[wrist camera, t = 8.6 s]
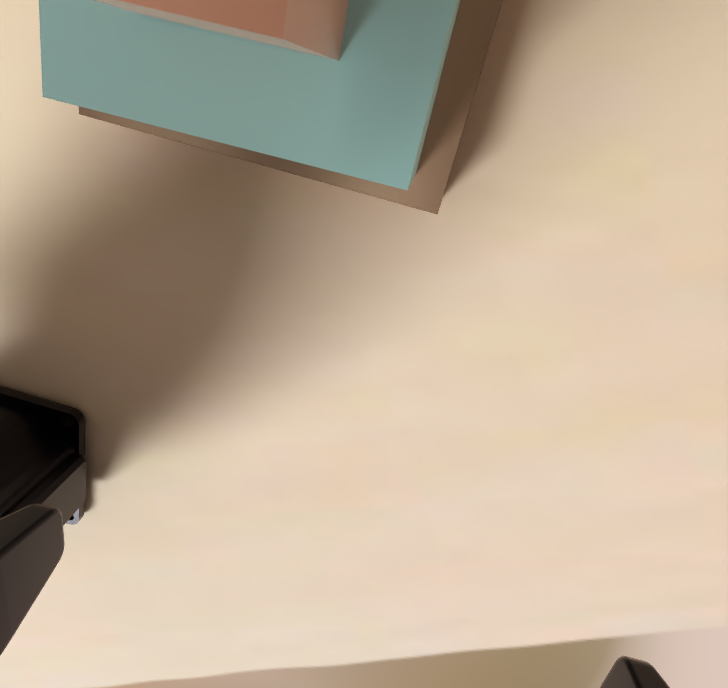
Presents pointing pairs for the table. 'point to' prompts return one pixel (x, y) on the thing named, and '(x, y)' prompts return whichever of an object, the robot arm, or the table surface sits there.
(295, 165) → the tower base
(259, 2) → the terracotta cube
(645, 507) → the table surface
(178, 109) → the tower top
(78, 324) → the table surface
